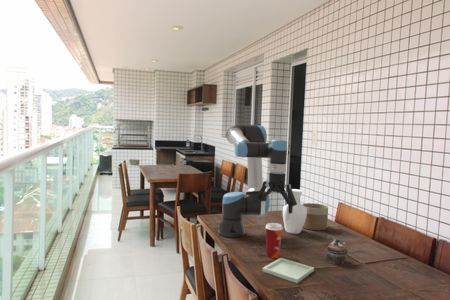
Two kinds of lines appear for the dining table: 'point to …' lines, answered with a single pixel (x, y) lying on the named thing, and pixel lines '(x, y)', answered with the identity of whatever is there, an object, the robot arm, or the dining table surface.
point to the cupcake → (336, 252)
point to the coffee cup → (273, 239)
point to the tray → (288, 270)
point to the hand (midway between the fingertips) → (275, 217)
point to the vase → (295, 215)
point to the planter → (316, 216)
